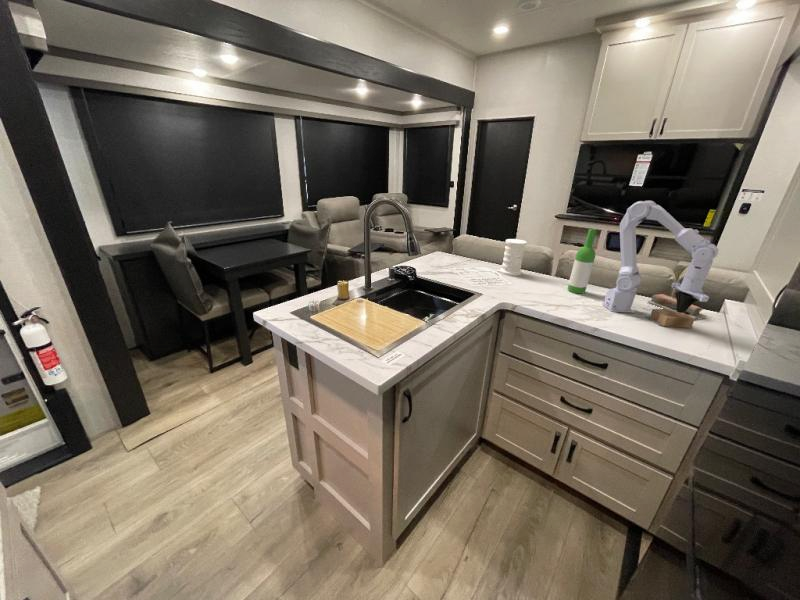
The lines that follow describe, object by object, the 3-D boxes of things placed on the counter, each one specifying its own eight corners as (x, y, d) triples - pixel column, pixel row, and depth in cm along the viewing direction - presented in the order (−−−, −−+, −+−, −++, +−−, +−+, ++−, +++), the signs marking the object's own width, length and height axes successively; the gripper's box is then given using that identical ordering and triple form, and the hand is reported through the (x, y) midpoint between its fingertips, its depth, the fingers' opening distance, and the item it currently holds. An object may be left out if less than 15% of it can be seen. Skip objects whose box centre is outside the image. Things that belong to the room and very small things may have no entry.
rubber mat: (659, 325, 119) (659, 325, 119) (645, 316, 127) (646, 316, 127) (692, 327, 119) (692, 327, 119) (676, 318, 126) (676, 317, 126)
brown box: (667, 317, 117) (652, 308, 125) (663, 326, 119) (649, 316, 126) (694, 319, 117) (678, 310, 124) (691, 327, 118) (675, 318, 126)
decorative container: (519, 270, 180) (525, 239, 173) (522, 276, 169) (529, 244, 162) (498, 268, 182) (503, 238, 175) (500, 275, 171) (506, 242, 164)
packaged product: (649, 294, 139) (664, 292, 142) (645, 304, 141) (660, 301, 144) (696, 310, 123) (711, 307, 126) (691, 321, 125) (706, 318, 128)
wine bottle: (588, 293, 149) (606, 230, 138) (577, 295, 147) (594, 231, 135) (574, 287, 156) (591, 227, 144) (563, 289, 153) (579, 227, 141)
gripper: (724, 285, 105) (707, 321, 111) (690, 272, 119) (676, 304, 124) (702, 284, 106) (686, 320, 111) (671, 271, 119) (658, 303, 124)
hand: (680, 311), depth 118 cm, fingers closed
